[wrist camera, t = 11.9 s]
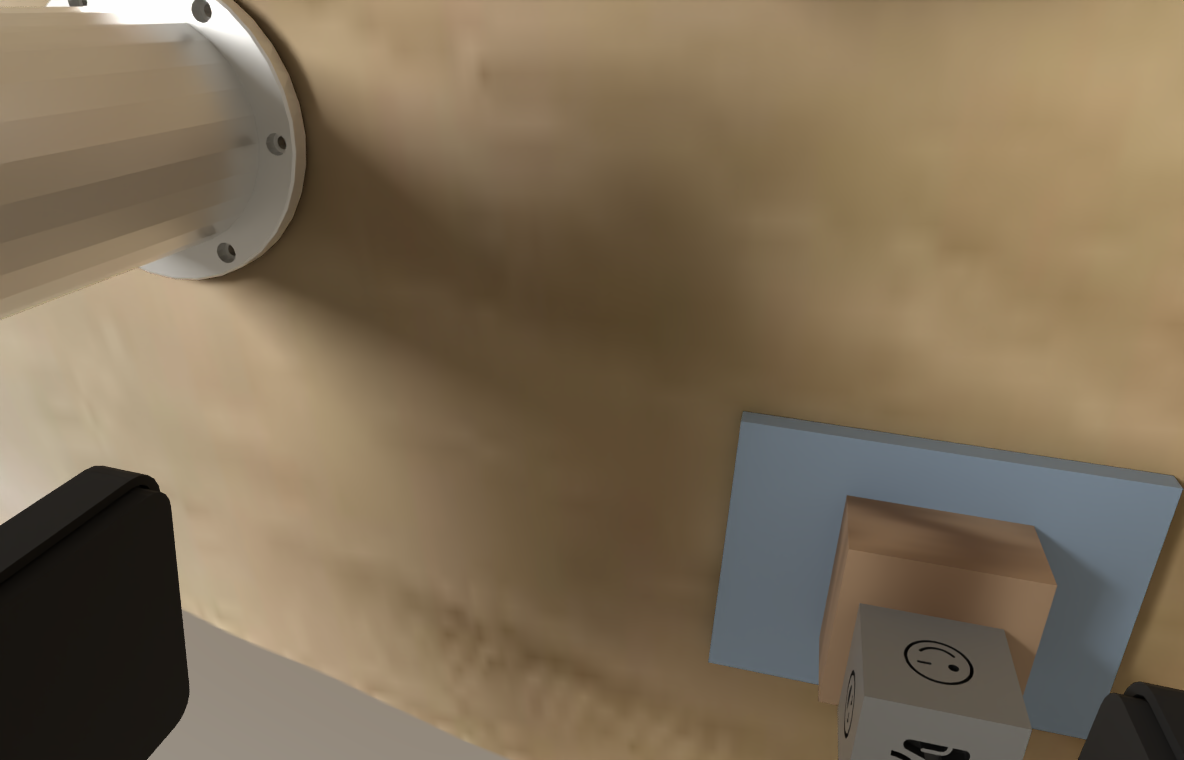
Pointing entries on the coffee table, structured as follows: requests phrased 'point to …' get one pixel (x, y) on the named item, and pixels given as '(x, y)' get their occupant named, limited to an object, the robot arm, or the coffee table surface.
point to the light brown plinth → (934, 578)
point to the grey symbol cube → (929, 691)
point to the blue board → (947, 483)
